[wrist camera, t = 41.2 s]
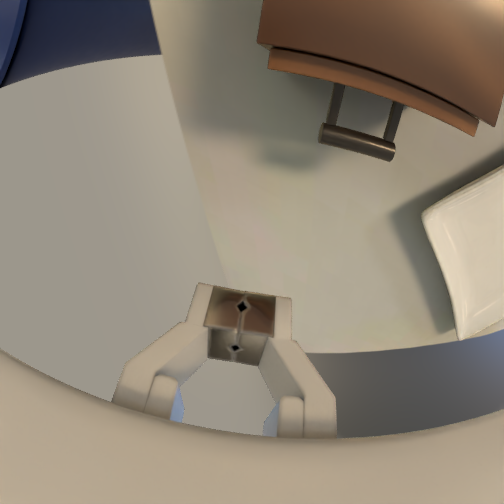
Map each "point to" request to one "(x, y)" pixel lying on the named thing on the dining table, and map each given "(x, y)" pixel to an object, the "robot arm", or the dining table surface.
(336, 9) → the cabinet
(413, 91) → the drawer
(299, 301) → the dining table surface
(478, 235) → the square plate
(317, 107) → the dining table surface
